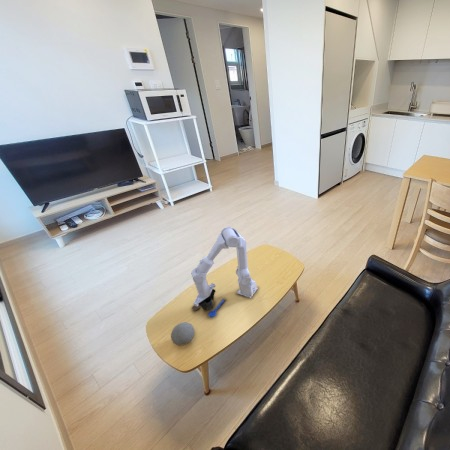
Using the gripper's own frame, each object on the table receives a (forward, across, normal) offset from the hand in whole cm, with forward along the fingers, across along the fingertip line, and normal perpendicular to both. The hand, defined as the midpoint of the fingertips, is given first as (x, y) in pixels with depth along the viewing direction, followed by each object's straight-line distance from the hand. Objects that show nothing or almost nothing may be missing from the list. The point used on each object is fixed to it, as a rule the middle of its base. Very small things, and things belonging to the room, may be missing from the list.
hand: (208, 304), depth 131 cm
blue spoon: (+1, 0, +6) cm, 6 cm away
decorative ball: (+2, +20, +2) cm, 20 cm away
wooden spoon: (+1, 0, -6) cm, 6 cm away
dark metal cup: (+1, 0, 0) cm, 1 cm away
